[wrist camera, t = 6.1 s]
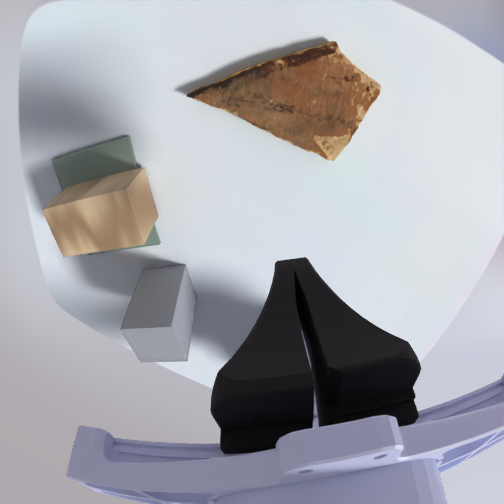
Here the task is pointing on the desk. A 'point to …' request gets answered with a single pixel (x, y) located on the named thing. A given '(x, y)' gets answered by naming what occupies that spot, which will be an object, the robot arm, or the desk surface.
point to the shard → (299, 98)
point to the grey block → (161, 315)
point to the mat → (100, 170)
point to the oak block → (103, 214)
